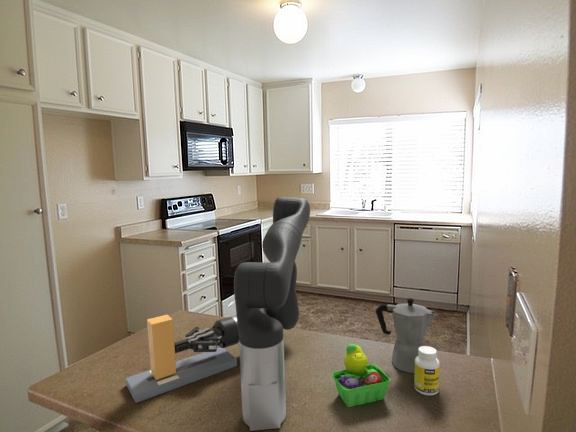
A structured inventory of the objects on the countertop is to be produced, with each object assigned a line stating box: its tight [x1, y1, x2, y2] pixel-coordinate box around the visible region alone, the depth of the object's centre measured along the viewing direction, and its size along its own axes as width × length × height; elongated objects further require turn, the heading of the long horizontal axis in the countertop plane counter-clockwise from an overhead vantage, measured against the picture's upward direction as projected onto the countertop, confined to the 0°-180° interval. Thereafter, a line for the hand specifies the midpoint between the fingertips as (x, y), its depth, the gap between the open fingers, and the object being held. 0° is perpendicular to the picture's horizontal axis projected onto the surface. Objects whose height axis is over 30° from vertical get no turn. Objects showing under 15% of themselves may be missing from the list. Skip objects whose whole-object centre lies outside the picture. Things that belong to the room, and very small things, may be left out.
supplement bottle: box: [413, 345, 441, 396], centre depth 87 cm, size 5×5×10 cm
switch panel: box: [125, 346, 238, 404], centre depth 96 cm, size 26×9×2 cm, turn 126°
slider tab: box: [146, 314, 177, 380], centre depth 93 cm, size 5×4×14 cm
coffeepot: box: [375, 297, 439, 374], centre depth 98 cm, size 15×9×18 cm, turn 67°
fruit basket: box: [331, 342, 391, 408], centre depth 85 cm, size 11×9×11 cm
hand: (172, 348), depth 94 cm, fingers closed
